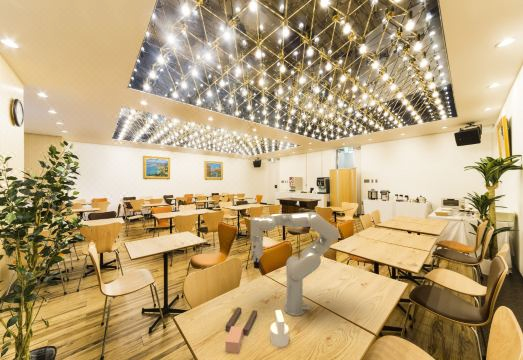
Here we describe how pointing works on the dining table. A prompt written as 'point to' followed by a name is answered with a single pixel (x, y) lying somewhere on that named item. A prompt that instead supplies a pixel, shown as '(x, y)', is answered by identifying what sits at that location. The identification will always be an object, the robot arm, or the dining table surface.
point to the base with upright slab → (279, 331)
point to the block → (234, 339)
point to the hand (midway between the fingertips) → (256, 267)
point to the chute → (247, 325)
